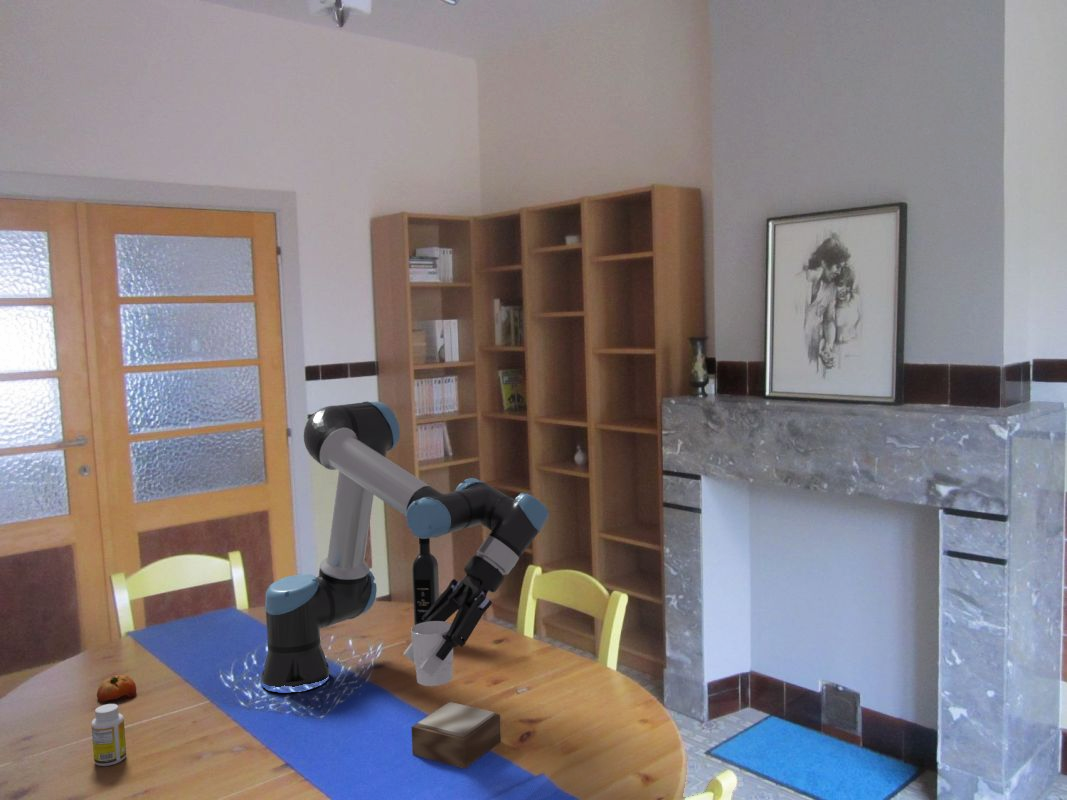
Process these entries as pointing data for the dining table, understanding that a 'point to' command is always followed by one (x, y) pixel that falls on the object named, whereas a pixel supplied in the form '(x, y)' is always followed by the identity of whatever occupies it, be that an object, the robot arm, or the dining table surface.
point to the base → (456, 734)
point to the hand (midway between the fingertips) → (417, 664)
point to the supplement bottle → (108, 735)
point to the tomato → (116, 688)
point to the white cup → (423, 644)
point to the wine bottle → (424, 581)
